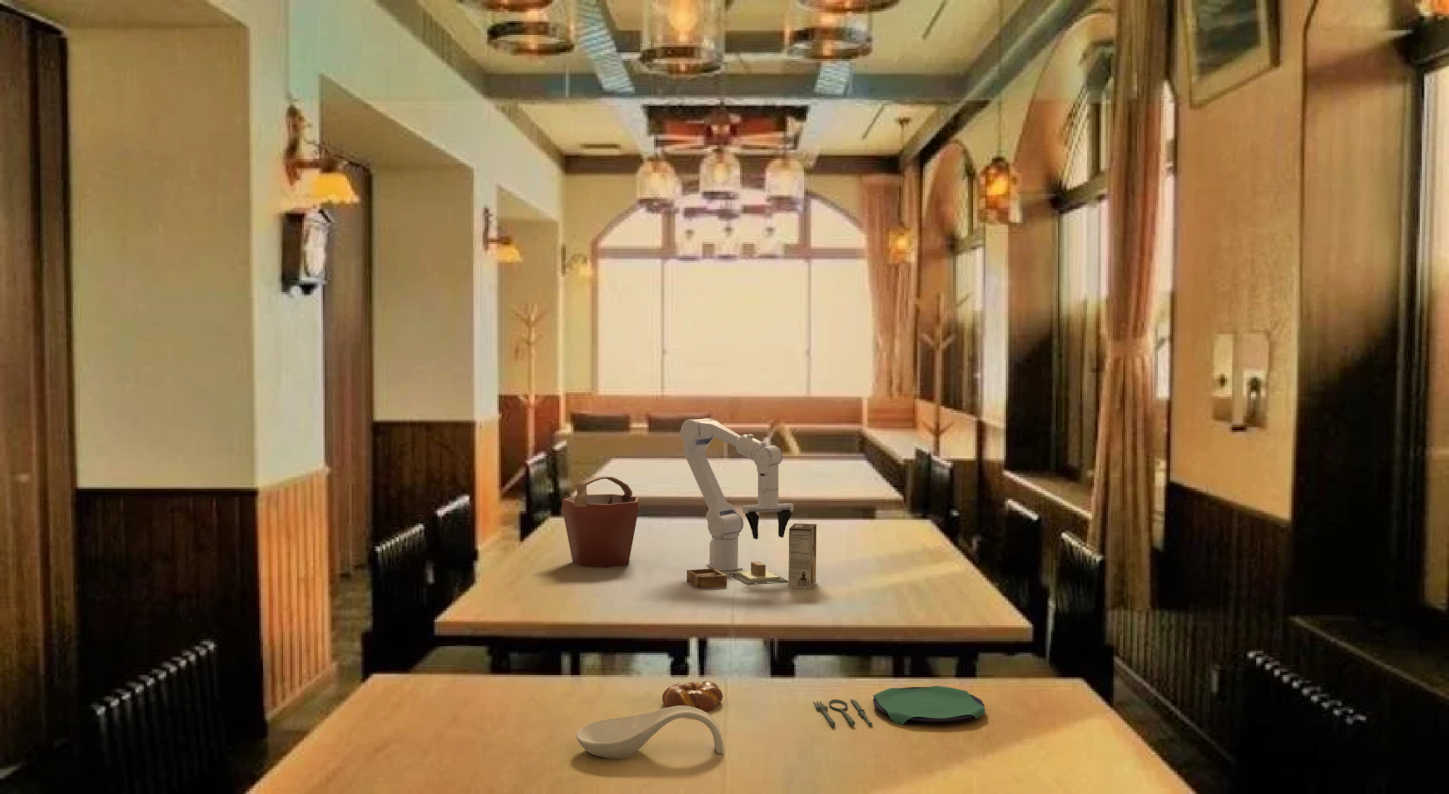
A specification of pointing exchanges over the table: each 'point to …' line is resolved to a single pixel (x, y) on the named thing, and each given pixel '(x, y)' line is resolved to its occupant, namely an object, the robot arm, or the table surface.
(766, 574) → the lid
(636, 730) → the spoon rest
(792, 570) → the coffee box
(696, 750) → the table surface
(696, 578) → the box
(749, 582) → the mat
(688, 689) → the pretzel
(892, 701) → the cutlery set
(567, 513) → the bucket
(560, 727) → the table surface
